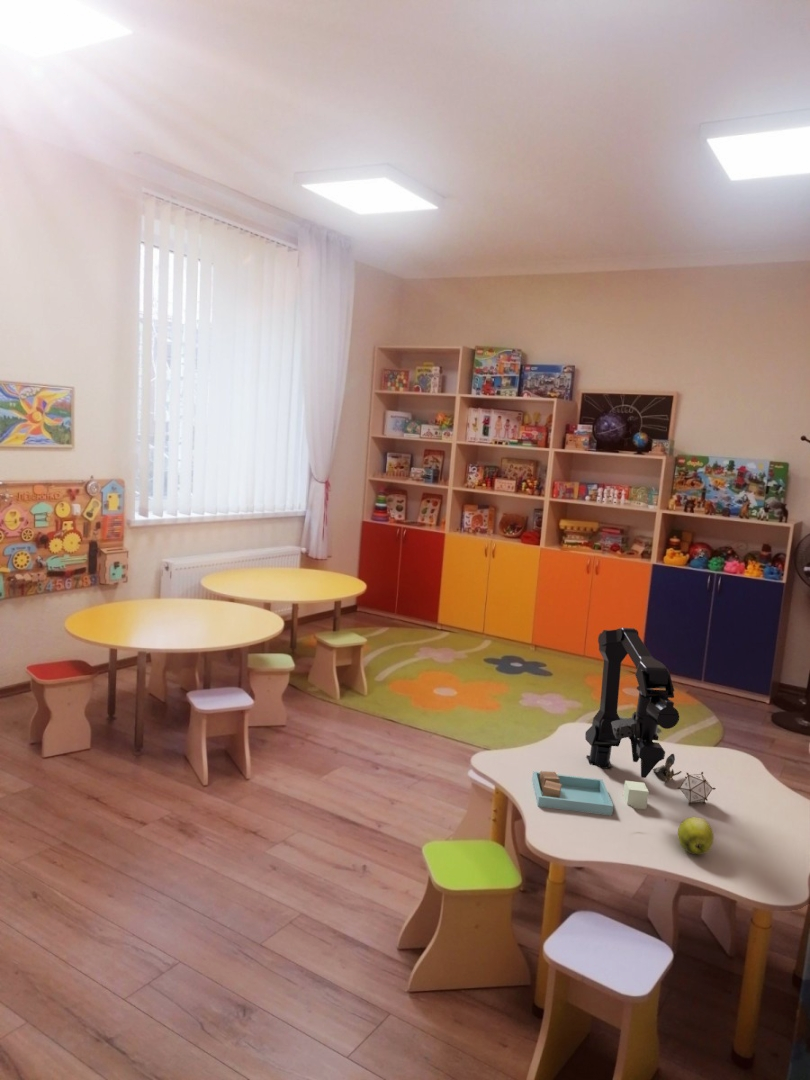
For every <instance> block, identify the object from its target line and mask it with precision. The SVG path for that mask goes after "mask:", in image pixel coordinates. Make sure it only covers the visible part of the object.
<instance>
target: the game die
mask: <svg viewBox="0 0 810 1080" xmlns="http://www.w3.org/2000/svg"><path fill="white" fill-rule="evenodd" d="M684 778H685V779H684V780H683V782H682V783H681V785H680V787H679V786H678V787H676V789H678V790H680V791H681V793H682V794H683V795H684V796H685V797H686V799H687V801H688V802H689V803H688V806H691V804H692V803H694V804H695V803H703V804H704V805H707V804H706V803H707V802H708V801H709V799H708V797H709V796H710V795H711V794H710V793H711V792H712V791H714V790H716V788H715V787H712V786H711V784H710V782H708V780H707V779H706V777H704V771H701V772H700V773H699V774H697V773H696V774H695V773H694V774H689V772H688V771H687V772H686V776H685V777H684ZM706 801H707V802H706Z"/></svg>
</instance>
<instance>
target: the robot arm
mask: <svg viewBox="0 0 810 1080" xmlns="http://www.w3.org/2000/svg"><path fill="white" fill-rule="evenodd" d="M597 639H598V640H597V642H598V651H599V653H600V655H601V656H602V658H603V667H602V669H603V670H602V679H601V680H602V681H601V691H600V693H601V694H600V704H599V709H598V711H597V712H596V714H595V715H594V717H593V718H592V725H591V726H590V727H589V728H588V729H587V730H586V731H585V737H584V738H585V740H586V742H587V743H588V744H589V745H590V752H589V755H588V754H587V755H586V757H585V758H586V760H587V761H588V764H589V765H590V766H596V767H600V768H603V769H613V765H612V762H611V760H610V759H611V754H612V747H617V748H618V747H619V746H620V744H621V741H622V739H627V738H628V739H629V740H630V745H631V746H630V747H631V755H632V762H633V763H638V762H639V760H640V778H642V779H646V778H647V777H648V775H649V774H650V773H651V772H652V771H653V769H654V768H655V767H656V766H657V764H658V763H659V762H660V761H661V762H662V760H664V759H665V756H666V750H665V749H664V748H663V746H662V745H661V743H660V742H658V741H659V735H658V734H657V732H658V726H660V727H661V728H663V729H666V730H668V729H672V728H674V727H675V726H676V725H677V724H678V723H679V720H680V715H679V714H680V713H679V711H678V710H677V708H676V707H674V705H675V702H674V701H673V700H671V699H674V698H675V693H674V692H675V689H674V685H673V682H672V676H671V673H670V671H669V669H668V668H667V667H666V665H664V663H662V662H661V661H659V660H657V659H656V658H654V657H653V656H652V654H651V653H650V651H649V650H648V648H647V647H646V645H645V643H644V641H643V640H642V639H641V637H640V635H639V631H638V630H637V629H635V628H632V627H620V628H616V629H610V630H609V629H603V630H602V632H600V633H599V634H598V638H597ZM627 656H629V657H630V659H631V661H632V663H633V664H634V666H635V668H636V672H635V677H636V681H637V684H638V686H636V690H637V691H638V699H637V705H636V711H634V712H633V713H632V716H631V717H628V718H627V717H626V718H622V719H621V718H620V716H619V714H618V705H619V695H620V694H619V693H620V692H619V691H620V681H621V680H620V679H621V671H622V670H621V669H622V662H623V661H624V660H625V658H626V657H627ZM664 689H665V690H664ZM669 698H670V699H669ZM656 741H657V742H656Z"/></svg>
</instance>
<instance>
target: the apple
mask: <svg viewBox="0 0 810 1080" xmlns="http://www.w3.org/2000/svg"><path fill="white" fill-rule="evenodd" d="M712 829H713V828H712V827H711V826H710V824H709V822H708V821H706V820H705V819H703V818H700V817H694V816H693V817H689V818H686V819H684V820H683V821H682V822H681V824H680V825H679V827H678V830H677V837H678V838H677V839H678V841H679V844H680V846H681V847H682V848H683V849H684V850H685V851H687V852H688V853H690V854H692V855H702V854H705V853H707V852H708V851H710V849H711V848H712V846H713V844H714V832H713V830H712Z"/></svg>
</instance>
